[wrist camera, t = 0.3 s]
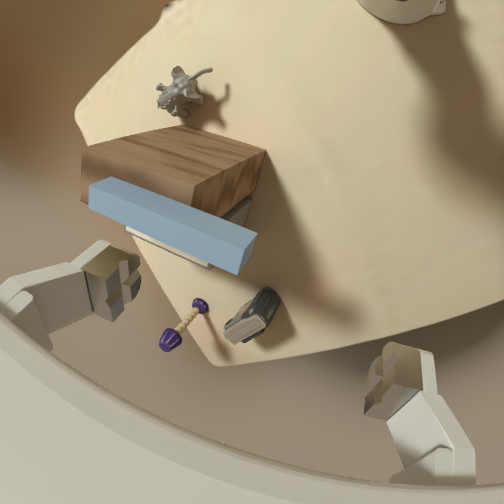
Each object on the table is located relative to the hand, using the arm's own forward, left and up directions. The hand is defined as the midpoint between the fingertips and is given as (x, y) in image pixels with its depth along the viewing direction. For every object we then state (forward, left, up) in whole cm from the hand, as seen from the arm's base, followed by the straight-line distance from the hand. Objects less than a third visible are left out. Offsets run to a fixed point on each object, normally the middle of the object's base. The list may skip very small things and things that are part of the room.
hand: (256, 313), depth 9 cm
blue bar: (+10, -15, -21) cm, 28 cm away
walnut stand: (+10, -22, -47) cm, 53 cm away
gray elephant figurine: (-2, -30, -47) cm, 56 cm away
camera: (+39, -5, -47) cm, 62 cm away
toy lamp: (+47, -19, -47) cm, 69 cm away
